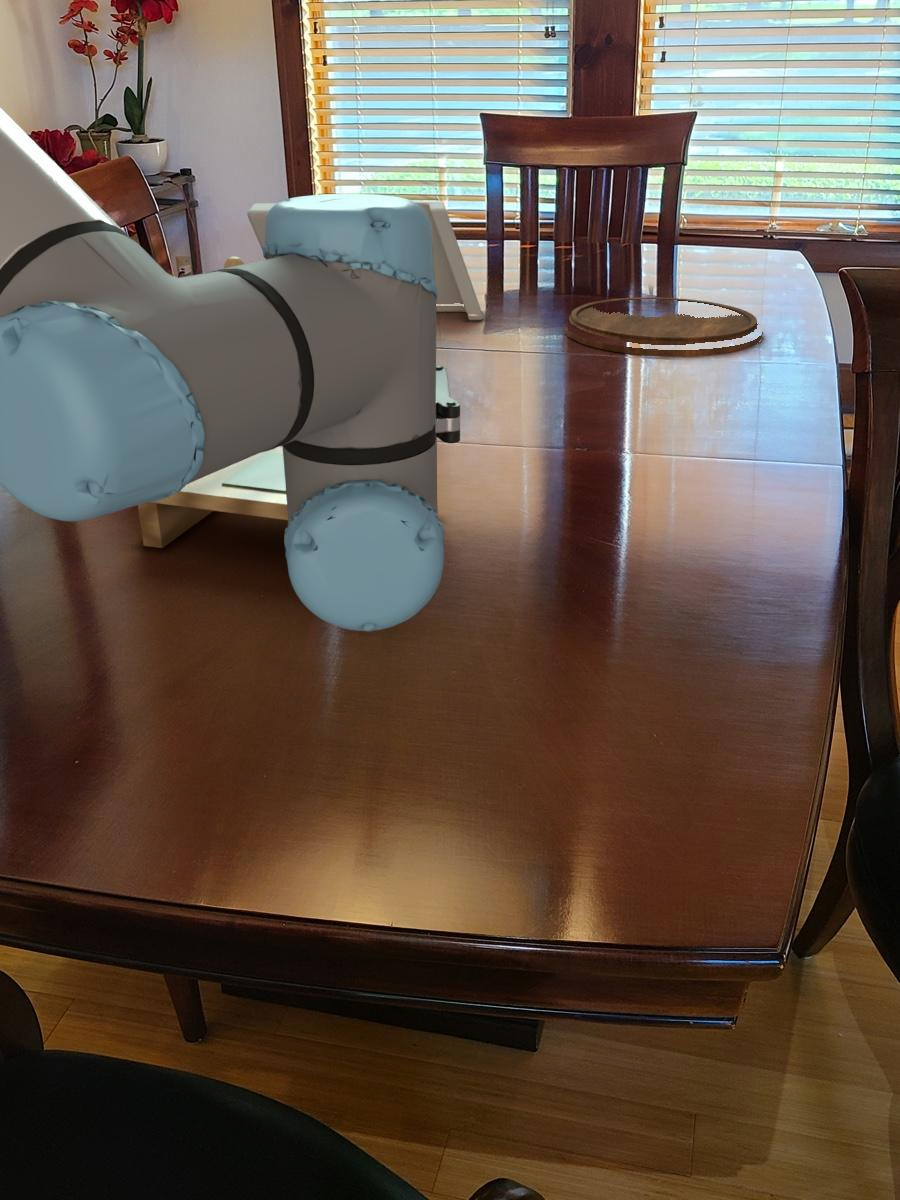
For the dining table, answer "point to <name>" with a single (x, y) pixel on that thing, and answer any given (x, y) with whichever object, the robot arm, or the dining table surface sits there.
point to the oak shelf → (219, 498)
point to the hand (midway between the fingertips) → (351, 360)
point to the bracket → (445, 257)
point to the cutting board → (662, 329)
